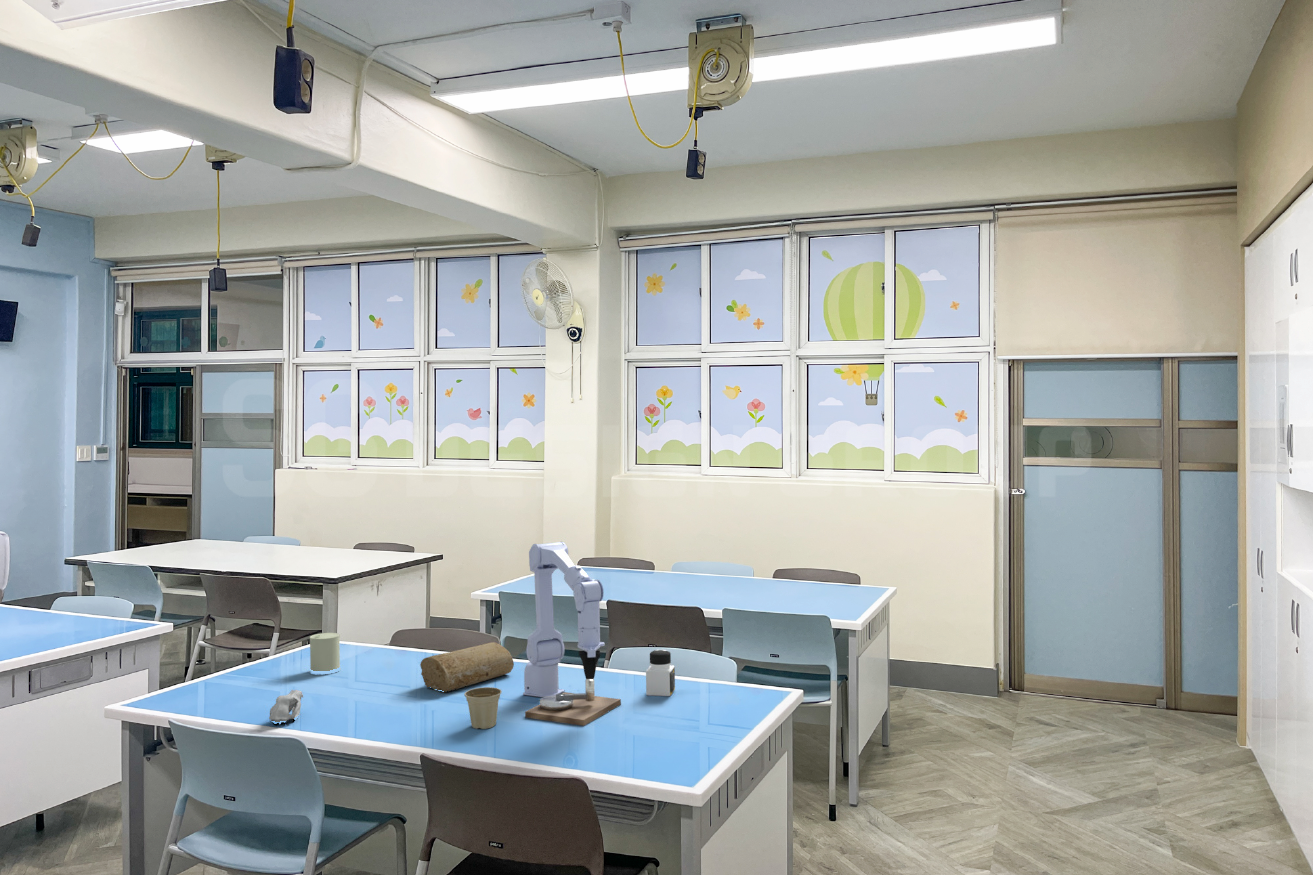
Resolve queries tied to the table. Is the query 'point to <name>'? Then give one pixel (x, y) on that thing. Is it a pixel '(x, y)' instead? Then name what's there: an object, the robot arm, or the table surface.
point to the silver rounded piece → (568, 698)
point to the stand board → (576, 711)
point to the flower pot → (483, 706)
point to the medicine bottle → (660, 674)
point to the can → (324, 651)
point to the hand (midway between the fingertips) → (589, 678)
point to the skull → (286, 706)
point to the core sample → (466, 666)
